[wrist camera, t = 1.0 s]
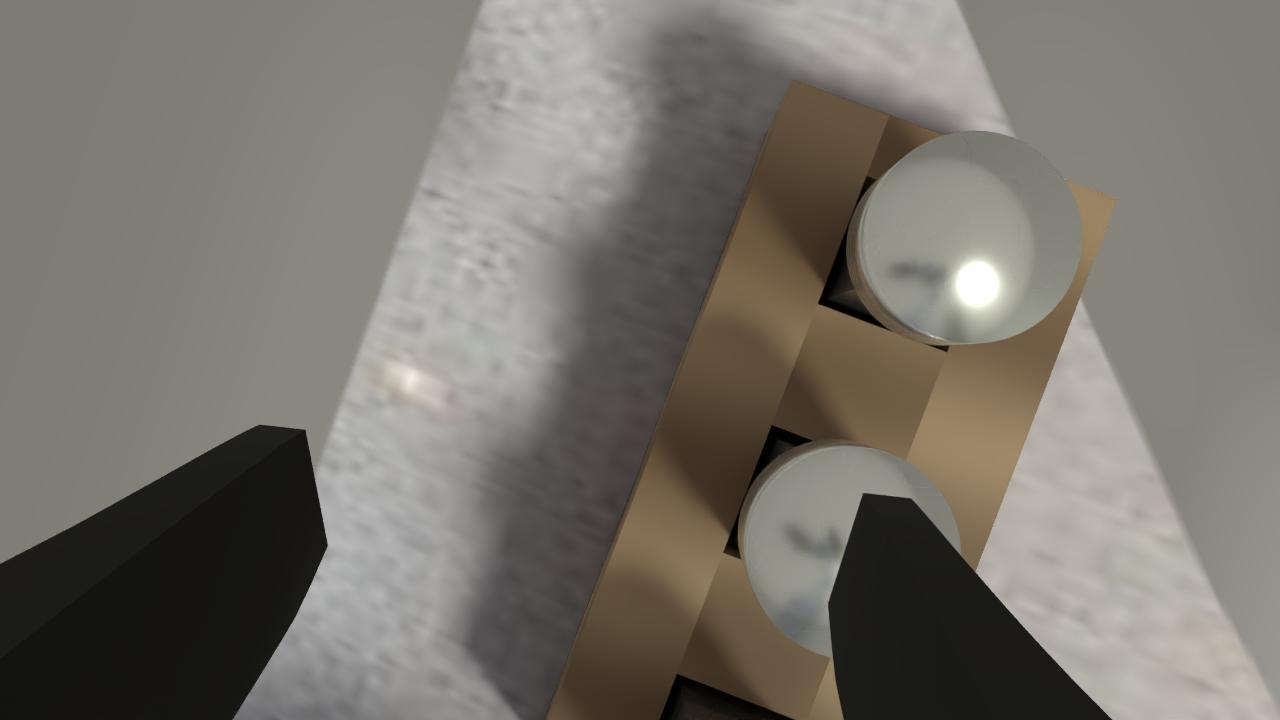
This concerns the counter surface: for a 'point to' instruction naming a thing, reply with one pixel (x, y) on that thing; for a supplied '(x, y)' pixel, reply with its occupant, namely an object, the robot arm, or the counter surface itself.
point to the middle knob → (817, 524)
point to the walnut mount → (794, 426)
